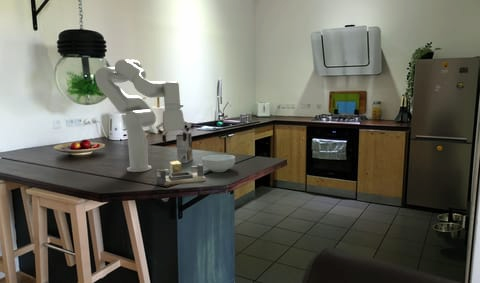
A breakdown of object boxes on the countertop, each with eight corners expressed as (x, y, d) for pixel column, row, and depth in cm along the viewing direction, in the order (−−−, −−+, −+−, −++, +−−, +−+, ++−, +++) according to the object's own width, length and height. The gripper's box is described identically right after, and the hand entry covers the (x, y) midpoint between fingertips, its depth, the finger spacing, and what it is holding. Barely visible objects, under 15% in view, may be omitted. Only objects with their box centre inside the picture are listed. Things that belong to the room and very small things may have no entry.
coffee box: (182, 159, 217) (181, 132, 215) (193, 159, 216) (191, 132, 213) (177, 162, 208) (175, 134, 206) (187, 162, 207) (186, 134, 205)
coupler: (173, 176, 177) (172, 164, 176) (170, 173, 185) (169, 161, 184) (182, 175, 179) (181, 163, 178) (178, 172, 186) (178, 160, 185)
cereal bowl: (238, 167, 193) (238, 154, 192) (231, 175, 177) (230, 160, 176) (208, 166, 197) (207, 153, 196) (198, 173, 181) (197, 160, 180)
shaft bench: (154, 179, 172) (153, 166, 171) (199, 174, 180) (198, 162, 179) (158, 186, 161) (157, 172, 160) (205, 180, 169) (205, 167, 168)
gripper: (188, 106, 183) (190, 139, 185) (153, 108, 177) (156, 142, 179) (191, 106, 176) (193, 141, 178) (155, 108, 170) (158, 144, 172)
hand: (174, 142), depth 179 cm, fingers open, 9 cm apart
